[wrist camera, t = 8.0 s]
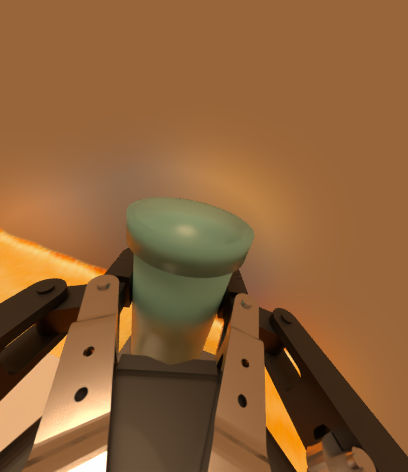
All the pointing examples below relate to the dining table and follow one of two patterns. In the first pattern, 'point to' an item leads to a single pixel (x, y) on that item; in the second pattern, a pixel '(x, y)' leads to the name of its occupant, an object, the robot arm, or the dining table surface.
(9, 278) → the dining table surface
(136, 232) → the green cup
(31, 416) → the tile
